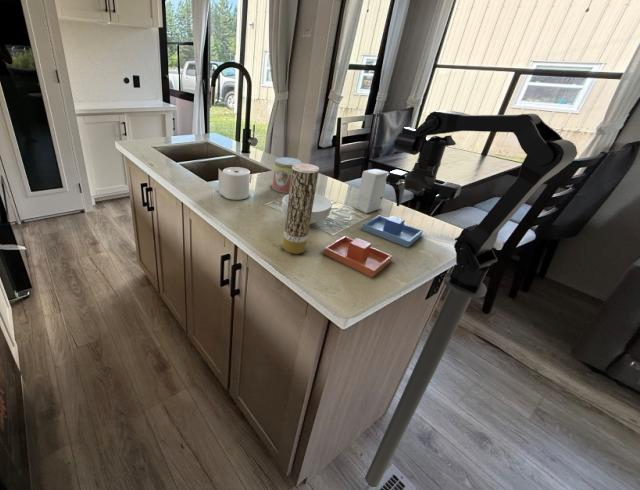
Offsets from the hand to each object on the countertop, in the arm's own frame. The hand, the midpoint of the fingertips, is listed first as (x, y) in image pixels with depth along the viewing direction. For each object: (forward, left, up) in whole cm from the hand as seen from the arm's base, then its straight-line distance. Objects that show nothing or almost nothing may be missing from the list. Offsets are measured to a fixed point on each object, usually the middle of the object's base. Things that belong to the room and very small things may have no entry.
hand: (413, 210), depth 97 cm
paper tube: (+20, +30, -11) cm, 38 cm away
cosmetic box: (+20, -16, -11) cm, 29 cm away
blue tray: (+5, -4, -11) cm, 13 cm away
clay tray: (+5, +20, -11) cm, 23 cm away
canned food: (+54, -8, -11) cm, 56 cm away
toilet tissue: (+62, +15, -11) cm, 65 cm away
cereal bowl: (+30, +11, -11) cm, 34 cm away
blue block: (+5, -4, -11) cm, 12 cm away
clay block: (+5, +20, -11) cm, 23 cm away
